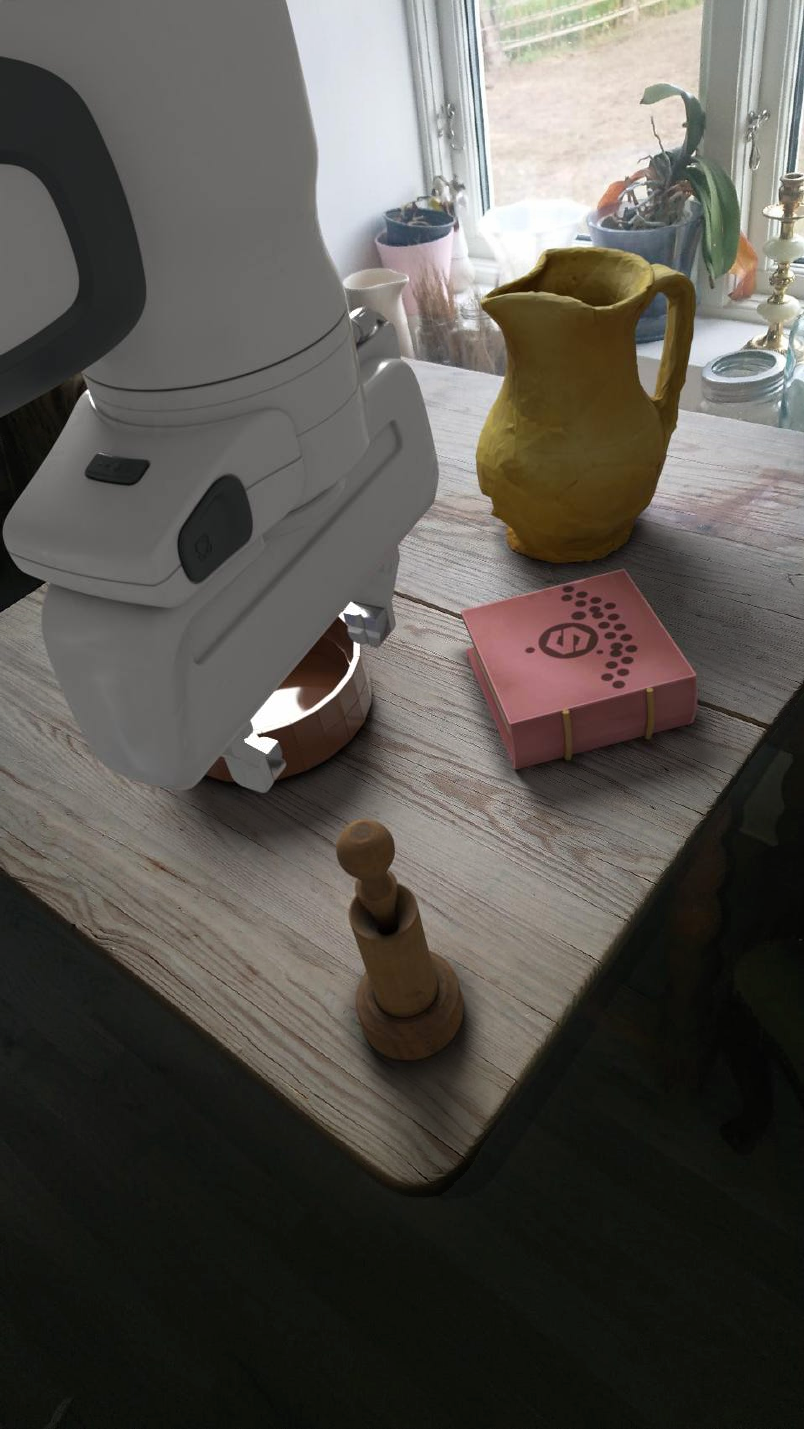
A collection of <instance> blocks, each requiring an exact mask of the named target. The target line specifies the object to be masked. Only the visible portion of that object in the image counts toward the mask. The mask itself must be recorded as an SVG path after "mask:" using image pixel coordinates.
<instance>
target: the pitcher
mask: <svg viewBox="0 0 804 1429" xmlns="http://www.w3.org/2000/svg"><path fill="white" fill-rule="evenodd" d="M659 293H662V294H663V295H664V296H665V297H666V326H665V331H664V336H663V337H664V338H663V346H662V354H661V357H660V364H659V367H658V370H657V375H656V376H657V377H656V382H655V386H654V387H655V388H654V393H653V396H650V395H649V394H648V392H646V390H645V389H644V386H643V385H642V383H641V380H640V376H639V375H640V374H639V367H638V366H639V365H638V355H637V354H638V353H637V343H636V328H637V327H638V324H639V321H640V318H641V317H642V315H643V314H644V313H645V312H646V310H647V309H648V308H649V307H650V306H651V305H652V303H653V300H654V299H655V298H656V296H657V295H658V294H659ZM479 304H480V306H481V310H482V311H483V312H485V313H486V314H487V315H488V316H489V317H490V318H491V319H492V321H493V322H494V323H495V324H496V325H497V326H498V327H499V329H500V331H501V333H502V337H503V338H504V339H503V340H504V346H505V347H504V348H505V373H504V379H503V381H502V386H501V388H500V390H499V393H498V394H497V397H496V399H495V401H494V403H493V404H492V406H491V408H490V409H489V413H488V414H487V417H486V418H485V422H484V424H483V426H482V428H481V431H480V434H479V438H478V443H477V447H476V452H475V457H474V458H475V462H476V463H475V467H476V469H475V470H476V476H477V482H478V487H479V490H480V492H481V495H483V496H485V497H488V498H490V500H491V504H492V507H493V509H492V511H491V512H490V515H491V516H492V517H495V518H496V519H498V520H499V521H502V522H503V523H504V524H505V525H507V526H506V528H507V529H506V531H505V534H506V535H505V539H506V542H507V544H508V547H509V548H510V549H511V550H512V551H514V552H516V553H518V554H520V553H521V554H522V555H525V556H526V557H529V558H530V559H536V560H539V561H541V560H542V561H543V562H545V561H546V562H547V563H551V564H567V563H571V562H572V563H574V562H575V563H579V562H580V563H582V562H584V561H585V562H592V561H595V560H600V559H604V558H606V557H607V556H608V555H609V554H612V553H613V552H617V551H618V550H619V548H620V547H622V546H624V544H627V543H628V540H629V539H630V537H631V535H632V532H633V530H634V529H633V528H634V526H635V520H636V519H637V518H638V517H639V516H641V514H642V513H643V512H644V511H646V509H648V507H650V505H651V502H652V500H653V498H654V496H655V494H656V491H657V487H658V483H659V480H660V477H661V475H662V472H663V469H664V466H665V463H666V460H667V456H668V450H669V446H670V442H671V439H672V435H673V433H674V432H675V430H676V429H677V428H678V425H677V423H678V420H679V404H680V400H681V391H682V390H683V388H684V386H685V384H686V382H687V379H686V378H687V371H688V366H689V361H690V357H691V350H692V345H693V344H692V343H693V340H694V333H695V318H696V310H697V295H696V288H695V285H694V283H693V281H692V280H691V278H689V277H688V276H687V274H684V273H682V272H680V271H679V270H677V269H676V270H675V269H673V268H670V267H669V266H667V265H664V264H661V263H654V264H651V263H650V262H649V261H648V260H646V259H645V258H644V257H643V256H641V255H639V254H636V253H635V252H630V251H624V250H622V249H619V248H612V247H611V248H610V247H602V246H573V247H559V248H557V247H556V248H555V247H554V248H548V249H546V250H543V252H542V253H541V254H540V256H539V258H538V260H537V263H536V265H535V266H534V268H533V269H531V270H530V271H529V272H528V273H527V274H526V275H523V276H521V277H519V278H517V279H514V280H512V281H510V282H506V283H504V284H503V285H500V286H498V287H495V288H493V289H491V291H489V292H488V293H487V294H486V295H484V296H483V297H482V299H481V301H480V302H479Z"/></svg>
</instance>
